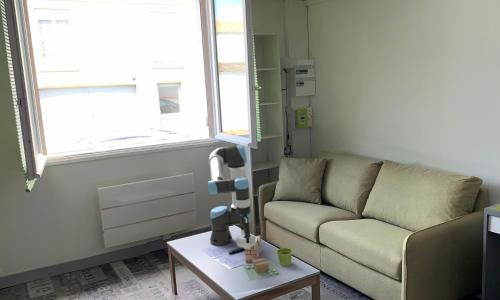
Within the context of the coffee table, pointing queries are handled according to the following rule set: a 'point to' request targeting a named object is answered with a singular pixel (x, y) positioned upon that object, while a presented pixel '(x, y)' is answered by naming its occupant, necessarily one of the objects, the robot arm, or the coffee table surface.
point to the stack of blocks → (253, 250)
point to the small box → (242, 241)
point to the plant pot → (284, 256)
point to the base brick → (261, 265)
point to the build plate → (253, 275)
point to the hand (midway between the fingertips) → (246, 244)
